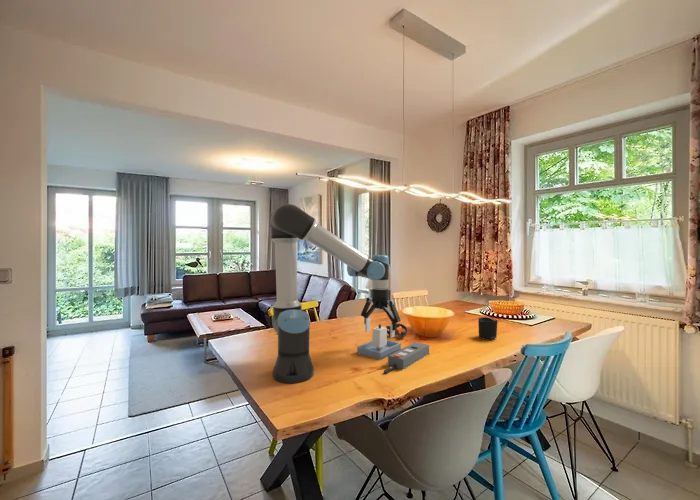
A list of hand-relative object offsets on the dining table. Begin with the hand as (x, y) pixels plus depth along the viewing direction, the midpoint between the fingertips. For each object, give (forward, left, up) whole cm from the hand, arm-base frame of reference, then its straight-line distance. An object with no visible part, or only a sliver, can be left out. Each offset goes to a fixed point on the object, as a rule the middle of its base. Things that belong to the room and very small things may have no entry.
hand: (379, 334), depth 146 cm
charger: (0, 0, -7) cm, 7 cm away
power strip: (-4, -15, -8) cm, 18 cm away
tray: (0, 0, -8) cm, 8 cm away
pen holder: (+56, -33, -8) cm, 65 cm away
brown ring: (+25, +6, -8) cm, 27 cm away
